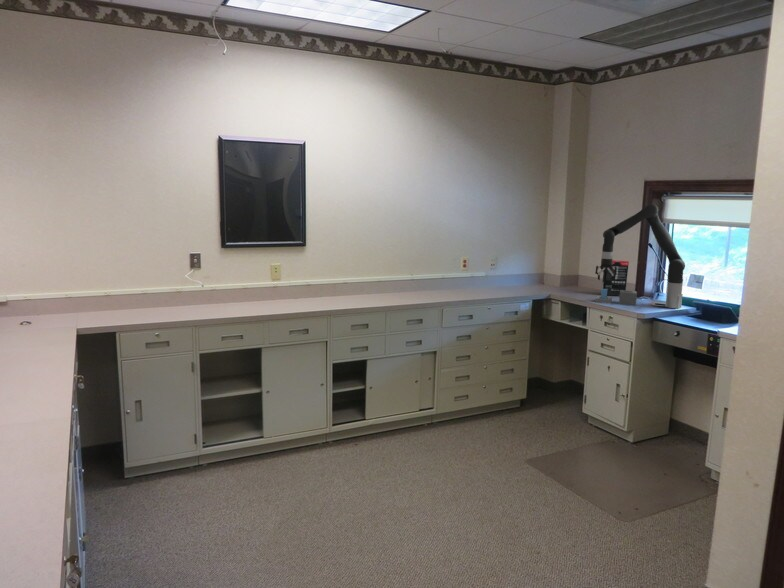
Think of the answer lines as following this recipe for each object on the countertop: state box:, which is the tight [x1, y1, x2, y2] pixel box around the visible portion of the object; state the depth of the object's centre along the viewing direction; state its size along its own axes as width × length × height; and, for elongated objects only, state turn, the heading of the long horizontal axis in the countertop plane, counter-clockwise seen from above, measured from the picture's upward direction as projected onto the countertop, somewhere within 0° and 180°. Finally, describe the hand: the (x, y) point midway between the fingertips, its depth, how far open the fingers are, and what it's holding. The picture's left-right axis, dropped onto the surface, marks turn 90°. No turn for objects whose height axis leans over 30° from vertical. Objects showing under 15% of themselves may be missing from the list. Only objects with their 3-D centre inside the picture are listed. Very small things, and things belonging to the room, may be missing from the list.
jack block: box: [594, 289, 638, 306], centre depth 408 cm, size 27×11×8 cm, turn 68°
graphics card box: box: [601, 260, 630, 297], centre depth 439 cm, size 17×7×27 cm, turn 84°
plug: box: [600, 288, 608, 299], centre depth 411 cm, size 4×4×9 cm
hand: (605, 280), depth 409 cm, fingers open, 8 cm apart
